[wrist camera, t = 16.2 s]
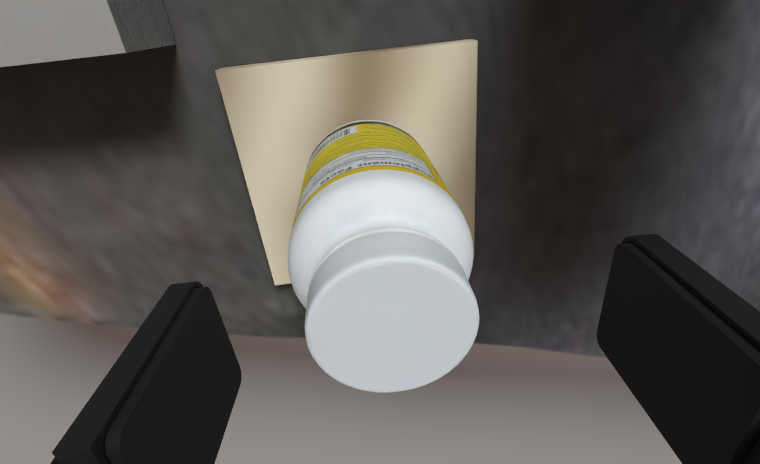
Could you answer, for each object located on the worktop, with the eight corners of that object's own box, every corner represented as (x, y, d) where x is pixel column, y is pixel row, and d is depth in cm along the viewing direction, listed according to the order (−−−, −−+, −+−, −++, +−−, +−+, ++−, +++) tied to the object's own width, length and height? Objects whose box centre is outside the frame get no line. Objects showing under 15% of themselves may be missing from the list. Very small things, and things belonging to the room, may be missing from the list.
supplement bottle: (415, 238, 19) (472, 420, 11) (301, 225, 18) (262, 409, 10) (443, 126, 17) (545, 245, 8) (312, 105, 16) (273, 211, 7)
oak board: (470, 39, 16) (477, 40, 15) (468, 250, 21) (474, 260, 20) (222, 67, 16) (215, 70, 15) (277, 274, 21) (274, 285, 20)
